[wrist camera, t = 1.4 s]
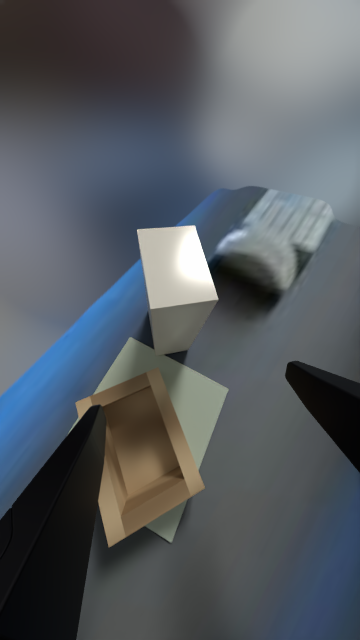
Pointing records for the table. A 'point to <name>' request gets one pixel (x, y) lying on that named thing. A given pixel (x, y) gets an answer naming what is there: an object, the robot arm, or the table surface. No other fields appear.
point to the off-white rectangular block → (175, 286)
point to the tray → (141, 455)
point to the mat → (188, 401)
